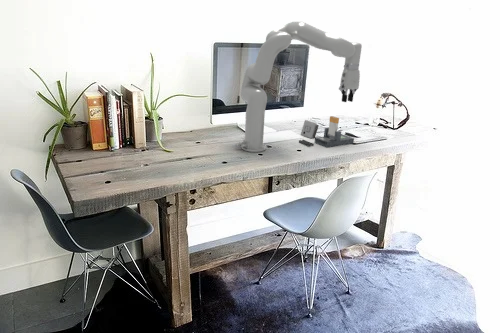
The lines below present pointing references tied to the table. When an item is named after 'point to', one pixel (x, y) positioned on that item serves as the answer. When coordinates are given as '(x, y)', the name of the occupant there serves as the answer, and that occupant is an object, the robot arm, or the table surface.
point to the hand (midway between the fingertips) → (347, 101)
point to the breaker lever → (333, 126)
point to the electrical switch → (309, 129)
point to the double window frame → (332, 142)
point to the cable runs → (306, 143)
